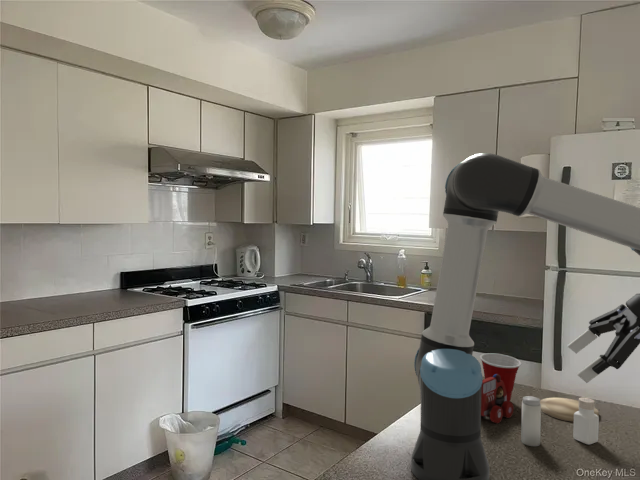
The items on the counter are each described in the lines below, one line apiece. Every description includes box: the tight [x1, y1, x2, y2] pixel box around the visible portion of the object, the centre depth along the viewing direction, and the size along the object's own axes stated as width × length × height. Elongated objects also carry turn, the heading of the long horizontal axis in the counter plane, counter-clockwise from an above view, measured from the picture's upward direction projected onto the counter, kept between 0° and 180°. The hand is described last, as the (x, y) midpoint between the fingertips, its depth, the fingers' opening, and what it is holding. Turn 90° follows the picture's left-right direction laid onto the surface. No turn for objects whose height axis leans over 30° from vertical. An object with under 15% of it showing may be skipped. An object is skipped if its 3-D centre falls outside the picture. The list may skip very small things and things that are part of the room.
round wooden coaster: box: [540, 397, 600, 423], centre depth 126 cm, size 14×14×1 cm
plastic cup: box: [479, 352, 522, 402], centre depth 133 cm, size 11×11×12 cm
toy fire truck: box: [481, 374, 514, 424], centre depth 123 cm, size 7×12×10 cm, turn 130°
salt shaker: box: [520, 395, 542, 447], centre depth 108 cm, size 4×4×10 cm
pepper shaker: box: [572, 397, 600, 446], centre depth 109 cm, size 4×4×10 cm
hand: (576, 363), depth 113 cm, fingers open, 13 cm apart
